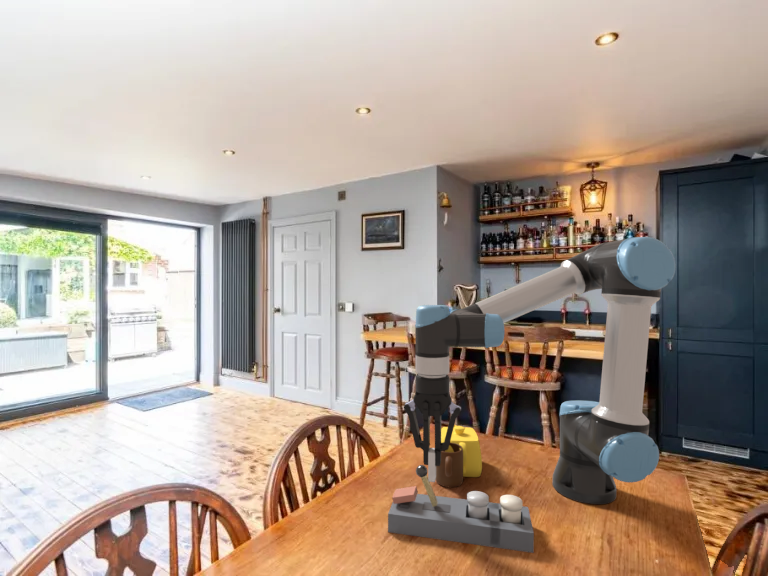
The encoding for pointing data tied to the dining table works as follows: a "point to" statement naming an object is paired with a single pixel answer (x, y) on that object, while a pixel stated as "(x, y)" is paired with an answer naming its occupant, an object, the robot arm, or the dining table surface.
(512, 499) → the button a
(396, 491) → the rocker
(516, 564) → the dining table surface
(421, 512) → the console
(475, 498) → the button
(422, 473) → the lever
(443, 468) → the mug
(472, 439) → the teapot
